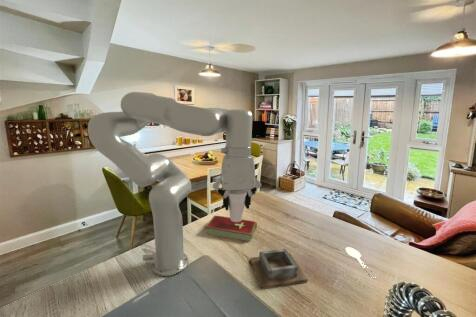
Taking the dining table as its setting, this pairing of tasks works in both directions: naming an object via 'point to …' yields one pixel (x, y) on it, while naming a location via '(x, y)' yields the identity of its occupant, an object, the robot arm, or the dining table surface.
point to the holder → (277, 269)
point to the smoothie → (236, 204)
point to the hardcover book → (231, 228)
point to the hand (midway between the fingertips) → (236, 207)
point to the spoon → (355, 255)
